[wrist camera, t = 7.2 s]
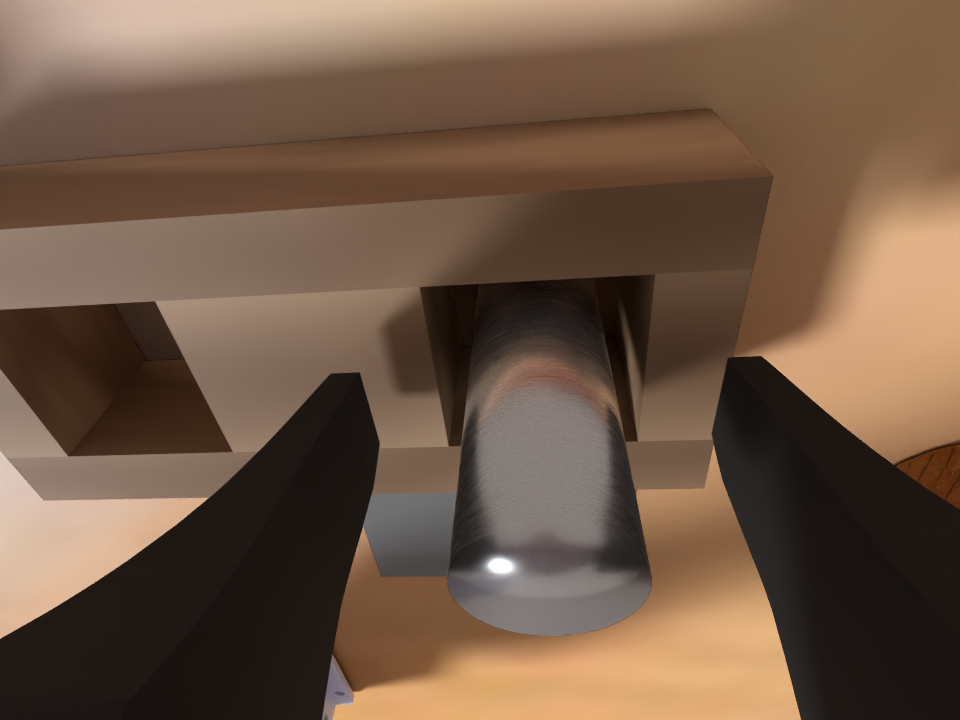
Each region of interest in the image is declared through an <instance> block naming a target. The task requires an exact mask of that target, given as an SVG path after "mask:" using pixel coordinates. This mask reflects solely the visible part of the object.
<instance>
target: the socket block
mask: <svg viewBox="0 0 960 720" xmlns="http://www.w3.org/2000/svg"><path fill="white" fill-rule="evenodd" d="M772 180H773V175H772V174H771V173H770V172H769V171H768V170H767V169H766V168H765V167H764V166H763V165H762V163H761V162H760V161H759V160H758V159H757V158H756V157H755V156H754V155H753V154H752V153H751V152H750V150H749V149H748V148H747V147H746V146H745V145H744V144H743V143H742V142H741V141H740V140H739V139H738V138H737V136H736V135H735V134H734V133H733V132H732V131H731V130H730V129H729V128H728V127H727V126H726V125H725V123H724V122H723V121H722V120H721V119H720V118H719V117H718V116H717V115H716V114H715V113H714V112H713V110H712V109H700V110H688V111H675V112H663V113H651V114H638V115H626V116H614V117H601V118H589V119H577V120H564V121H552V122H540V123H527V124H515V125H502V126H490V127H478V128H465V129H453V130H441V131H428V132H416V133H404V134H391V135H379V136H367V137H354V138H342V139H330V140H317V141H305V142H293V143H280V144H268V145H256V146H243V147H231V148H219V149H206V150H194V151H182V152H169V153H157V154H145V155H132V156H120V157H107V158H95V159H83V160H70V161H58V162H46V163H33V164H21V165H9V166H0V451H1V452H2V453H3V455H4V456H5V457H6V458H7V459H8V460H9V461H10V463H11V464H12V465H13V466H14V467H15V468H16V469H17V471H18V472H19V473H20V474H21V475H22V476H23V477H24V479H25V480H26V481H27V482H28V483H29V484H30V485H31V487H32V488H33V489H34V490H35V491H36V492H37V493H38V495H39V496H40V497H41V498H42V499H43V500H94V499H149V498H203V497H211V496H212V495H213V494H214V493H215V492H216V491H218V490H219V489H220V488H221V487H222V486H223V485H224V484H225V483H226V482H228V481H229V480H230V479H231V478H232V477H233V476H234V475H235V474H236V473H237V472H238V471H239V470H240V469H241V468H242V467H243V466H244V465H245V464H246V463H247V462H248V461H249V460H250V459H251V458H252V457H253V456H254V455H255V454H256V453H257V452H258V451H259V450H260V449H261V448H262V447H263V446H264V445H265V444H266V443H267V442H268V441H269V440H270V439H271V438H272V437H273V436H274V435H275V434H276V433H277V432H278V431H279V429H280V428H281V427H282V426H283V425H284V424H285V423H286V422H287V421H288V420H289V419H290V418H291V417H292V415H293V414H294V413H295V412H296V411H297V410H298V409H299V408H300V407H301V406H302V404H303V403H304V402H305V401H306V400H307V399H308V398H309V397H310V396H311V394H312V393H313V392H314V391H315V390H316V389H317V388H318V387H319V386H320V385H321V383H322V382H323V381H324V380H325V379H326V378H327V377H328V376H329V375H330V374H331V373H354V372H360V375H361V378H362V382H363V385H364V389H365V392H366V396H367V399H368V403H369V406H370V410H371V413H372V417H373V420H374V424H375V427H376V431H377V434H378V438H379V441H380V447H379V454H378V462H377V469H376V475H375V482H374V488H373V491H372V494H420V493H456V491H457V481H458V472H459V463H460V454H461V444H462V435H463V426H464V416H465V407H466V398H467V389H468V379H469V370H470V361H471V351H472V347H461V341H460V334H459V327H458V320H457V313H456V306H455V299H454V292H453V285H465V284H484V283H502V282H521V281H539V280H558V279H576V278H595V277H613V276H620V278H619V294H618V310H617V326H616V341H606V345H607V350H608V355H609V360H610V366H611V371H612V376H613V381H614V386H615V391H616V396H617V402H618V407H619V412H620V417H621V422H622V427H623V432H624V438H625V443H626V448H627V453H628V458H629V463H630V468H631V474H632V479H633V484H634V489H635V490H638V489H692V488H704V486H705V481H706V477H707V472H708V468H709V463H710V459H711V454H712V450H713V445H714V443H713V438H712V429H713V424H714V420H715V415H716V410H717V406H718V401H719V396H720V392H721V387H722V382H723V378H724V373H725V368H726V364H727V359H728V357H733V355H734V351H735V346H736V342H737V337H738V333H739V328H740V324H741V319H742V315H743V310H744V306H745V301H746V297H747V292H748V288H749V283H750V279H751V274H752V270H753V265H754V261H755V256H756V252H757V247H758V243H759V238H760V234H761V229H762V225H763V220H764V216H765V211H766V207H767V202H768V198H769V193H770V189H771V184H772ZM152 301H155V302H156V304H157V306H158V308H159V310H160V312H161V314H162V316H163V318H164V320H165V322H166V324H167V326H168V327H169V329H170V331H171V333H172V335H173V337H174V339H175V341H176V343H177V345H178V347H179V349H180V351H181V353H182V355H183V356H184V358H185V359H180V360H157V361H145V359H144V357H143V355H142V354H141V352H140V350H139V348H138V347H137V345H136V343H135V341H134V340H133V338H132V336H131V334H130V333H129V331H128V329H127V327H126V326H125V324H124V322H123V320H122V319H121V317H120V315H119V313H118V312H117V310H116V308H115V306H114V305H113V304H115V303H133V302H152Z"/></svg>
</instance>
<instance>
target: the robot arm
mask: <svg viewBox="0 0 960 720" xmlns="http://www.w3.org/2000/svg"><path fill="white" fill-rule="evenodd" d="M712 438H713V443H714V447H715V451H716V456H717V460H718V464H719V468H720V472H721V476H722V479H723V482H724V485H725V488H726V490H727V493H728V496H729V498H730V501H731V503H732V506H733V509H734V511H735V514H736V516H737V519H738V522H739V524H740V527H741V529H742V532H743V534H744V537H745V539H746V542H747V544H748V547H749V549H750V552H751V555H752V557H753V560H754V562H755V565H756V567H757V570H758V572H759V575H760V577H761V580H762V582H763V585H764V588H765V591H766V594H767V597H768V600H769V602H770V605H771V608H772V612H773V615H774V619H775V622H776V626H777V630H778V633H779V637H780V640H781V644H782V648H783V651H784V655H785V658H786V662H787V666H788V670H789V674H790V678H791V682H792V685H793V689H794V693H795V697H796V701H797V705H798V709H799V713H800V717H801V720H960V509H958V508H956V507H955V506H953V505H952V504H950V503H949V502H947V501H946V500H944V499H943V498H941V497H939V496H938V495H936V494H935V493H933V492H932V491H930V490H929V489H927V488H926V487H924V486H923V485H921V484H920V483H918V482H917V481H915V480H914V479H912V478H911V477H910V476H908V475H907V474H905V473H904V472H902V471H901V470H900V469H898V468H897V467H896V466H894V465H893V464H892V463H890V462H889V461H888V460H886V459H885V458H884V457H882V456H881V455H880V454H878V453H877V452H875V451H874V450H873V449H871V448H870V447H869V446H868V445H866V444H865V443H864V442H862V441H861V440H860V439H859V438H857V437H856V436H855V435H853V434H852V433H851V432H850V431H849V430H847V429H846V428H845V427H844V426H842V425H841V424H840V423H839V422H837V421H836V420H835V419H834V418H833V417H831V416H830V415H829V414H828V413H827V412H825V411H824V410H823V409H822V408H821V407H820V406H818V405H817V404H816V403H815V402H814V401H813V400H811V399H810V398H809V397H808V396H807V395H806V394H804V393H803V392H802V391H801V390H800V389H799V388H798V387H796V386H795V385H794V384H793V383H792V382H791V381H790V380H788V379H787V378H786V377H785V376H784V375H783V374H782V373H780V372H779V371H778V370H777V369H776V368H775V367H774V366H772V365H771V364H770V363H769V362H768V361H767V360H765V359H764V358H763V357H762V356H753V357H728V359H727V364H726V368H725V373H724V378H723V382H722V387H721V392H720V396H719V401H718V406H717V410H716V415H715V420H714V424H713V429H712ZM379 447H380V441H379V438H378V434H377V431H376V427H375V424H374V420H373V417H372V413H371V410H370V406H369V403H368V399H367V396H366V392H365V389H364V385H363V382H362V378H361V375H360V372H354V373H331V374H330V375H329V376H328V377H327V378H326V379H325V380H324V381H323V382H322V383H321V385H320V386H319V387H318V388H317V389H316V390H315V391H314V392H313V393H312V394H311V396H310V397H309V398H308V399H307V400H306V401H305V402H304V403H303V404H302V406H301V407H300V408H299V409H298V410H297V411H296V412H295V413H294V414H293V415H292V417H291V418H290V419H289V420H288V421H287V422H286V423H285V424H284V425H283V426H282V427H281V428H280V429H279V431H278V432H277V433H276V434H275V435H274V436H273V437H272V438H271V439H270V440H269V441H268V442H267V443H266V444H265V445H264V446H263V447H262V448H261V449H260V450H259V451H258V452H257V453H256V454H255V455H254V456H253V457H252V458H251V459H250V460H249V461H248V462H247V463H246V464H245V465H244V466H243V467H242V468H241V469H240V470H239V471H238V472H237V473H236V474H235V475H234V476H233V477H232V478H231V479H230V480H229V481H228V482H226V483H225V484H224V485H223V486H222V487H221V488H220V489H219V490H218V491H216V492H215V493H214V494H213V495H212V496H211V497H210V498H208V499H207V500H206V501H205V502H204V503H202V504H201V505H200V506H199V507H198V508H196V509H195V510H194V511H193V512H192V513H190V514H189V515H188V516H187V517H186V518H184V519H183V520H182V521H181V522H179V523H178V524H177V525H175V526H174V527H173V528H172V529H170V530H169V531H167V532H166V533H165V534H163V535H162V536H161V537H159V538H158V539H157V540H155V541H154V542H152V543H151V544H150V545H148V546H147V547H146V548H144V549H143V550H142V551H140V552H139V553H137V554H136V555H135V556H133V557H132V558H131V559H129V560H128V561H127V562H125V563H124V564H122V565H121V566H119V567H118V568H116V569H115V570H113V571H112V572H110V573H109V574H107V575H106V576H104V577H103V578H101V579H100V580H98V581H97V582H95V583H94V584H92V585H90V586H89V587H87V588H86V589H84V590H83V591H81V592H79V593H78V594H76V595H75V596H73V597H71V598H70V599H68V600H67V601H65V602H63V603H62V604H60V605H58V606H57V607H55V608H53V609H52V610H50V611H48V612H47V613H45V614H43V615H42V616H40V617H38V618H36V619H35V620H33V621H31V622H29V623H27V624H26V625H24V626H22V627H20V628H19V629H17V630H15V631H13V632H12V633H10V634H8V635H6V636H4V637H3V638H1V639H0V720H332V719H333V715H334V710H335V706H336V705H349V704H351V703H352V702H353V700H354V694H353V692H352V690H351V688H350V686H349V684H348V682H347V680H346V678H345V677H344V675H343V673H342V671H341V669H340V667H339V665H338V663H337V661H336V659H335V658H334V656H333V654H332V653H333V648H334V642H335V636H336V631H337V625H338V620H339V614H340V608H341V604H342V600H343V596H344V592H345V587H346V584H347V580H348V577H349V573H350V570H351V566H352V563H353V559H354V556H355V552H356V549H357V545H358V542H359V538H360V535H361V531H362V528H363V524H364V521H365V517H366V513H367V510H368V506H369V503H370V499H371V495H372V491H373V488H374V482H375V475H376V469H377V462H378V454H379Z"/></svg>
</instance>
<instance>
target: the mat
mask: <svg viewBox="0 0 960 720" xmlns="http://www.w3.org/2000/svg"><path fill="white" fill-rule="evenodd" d="M455 500H456V493H420V494H372V495H371V499H370V503H369V506H368V510H367V513H366V517H365V521H364V524H363V526H364V529H365V532H366V535H367V538H368V540H369V543H370V546H371V549H372V552H373V554H374V557H375V560H376V563H377V566H378V568H379V571H380V574H381V576H447V574H448V565H449V556H450V546H451V537H452V528H453V518H454V509H455Z"/></svg>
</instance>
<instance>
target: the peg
mask: <svg viewBox="0 0 960 720" xmlns="http://www.w3.org/2000/svg"><path fill="white" fill-rule="evenodd" d="M447 584H448V588H449V591H450V593H451V595H452V597H453V599H454V600H455V601H456V603H457V604H458V605H459V606H460V607H461V608H462V609H463V610H465V611H466V612H467V613H469V614H470V615H471V616H473V617H475V618H476V619H478V620H480V621H482V622H484V623H487V624H489V625H491V626H494V627H497V628H500V629H503V630H507V631H511V632H516V633H521V634H528V635H538V636H564V635H575V634H581V633H587V632H591V631H596V630H599V629H602V628H606V627H608V626H611V625H613V624H616V623H618V622H620V621H622V620H624V619H625V618H627V617H628V616H630V615H631V614H633V613H634V612H635V611H636V610H638V609H639V608H640V607H641V606H642V604H643V603H644V602H645V601H646V599H647V597H648V596H649V593H650V590H651V586H652V577H651V571H650V566H649V561H648V556H647V551H646V545H645V540H644V535H643V530H642V525H641V520H640V515H639V510H638V504H637V499H636V494H635V489H634V484H633V479H632V474H631V468H630V463H629V458H628V453H627V448H626V443H625V438H624V432H623V427H622V422H621V417H620V412H619V407H618V402H617V396H616V391H615V386H614V381H613V376H612V371H611V366H610V360H609V355H608V350H607V345H606V340H605V335H604V330H603V324H602V319H601V314H600V309H599V304H598V299H597V294H596V288H595V283H594V278H576V279H558V280H539V281H521V282H502V283H484V284H479V287H478V296H477V305H476V314H475V324H474V333H473V342H472V351H471V361H470V370H469V379H468V389H467V398H466V407H465V416H464V426H463V435H462V444H461V454H460V463H459V472H458V481H457V491H456V500H455V509H454V518H453V528H452V537H451V546H450V556H449V565H448V574H447Z"/></svg>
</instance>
